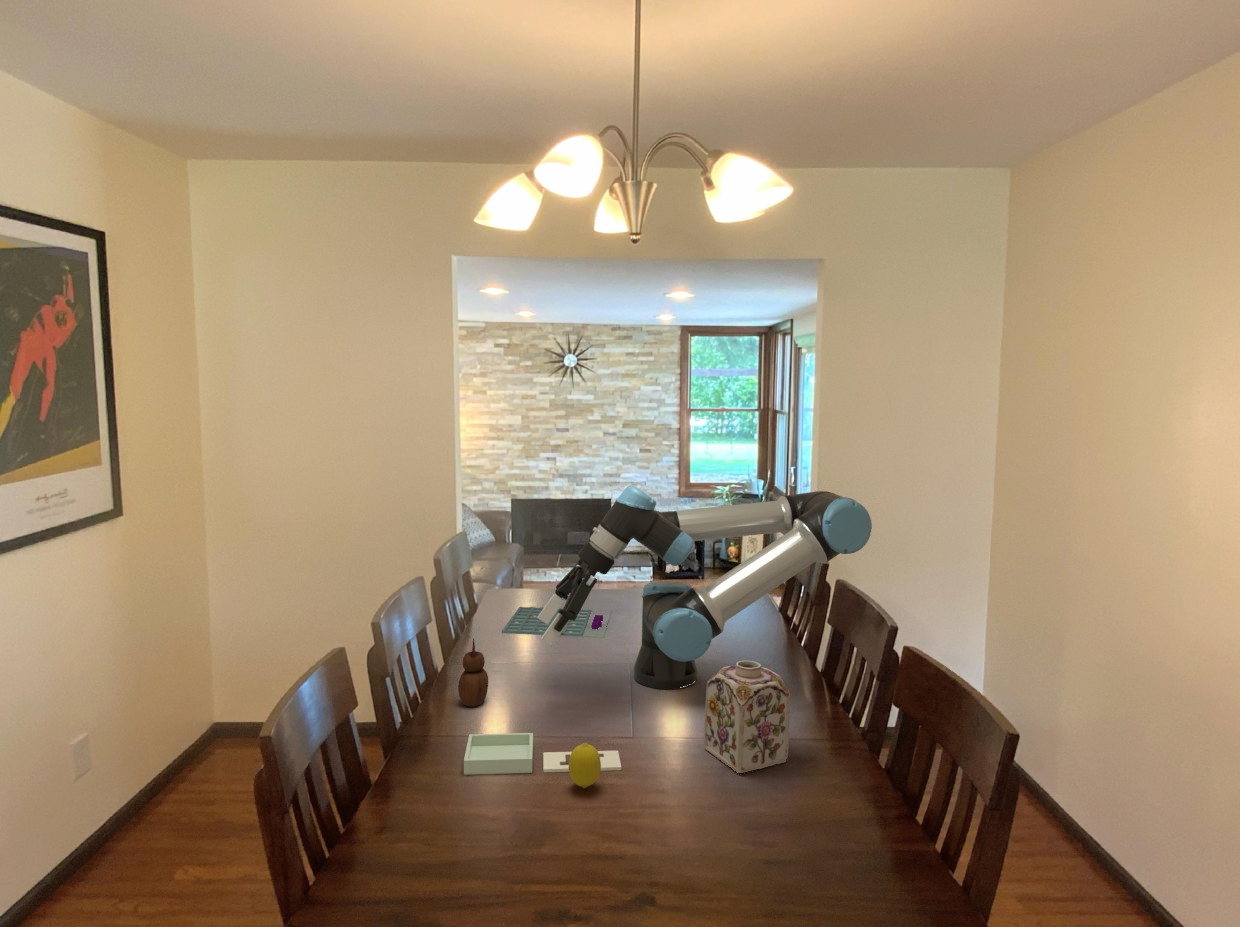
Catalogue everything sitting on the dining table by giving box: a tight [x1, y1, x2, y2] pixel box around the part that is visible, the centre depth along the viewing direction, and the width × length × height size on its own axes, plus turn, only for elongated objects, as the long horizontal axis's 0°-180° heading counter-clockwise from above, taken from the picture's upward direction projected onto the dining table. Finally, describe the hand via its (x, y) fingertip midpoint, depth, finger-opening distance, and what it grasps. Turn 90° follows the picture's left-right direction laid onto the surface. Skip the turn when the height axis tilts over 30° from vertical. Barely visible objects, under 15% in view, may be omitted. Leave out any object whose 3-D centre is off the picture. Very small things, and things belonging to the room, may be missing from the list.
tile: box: [542, 750, 622, 773], centre depth 142 cm, size 14×6×1 cm, turn 96°
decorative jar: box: [703, 660, 791, 774], centre depth 145 cm, size 12×12×18 cm
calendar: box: [501, 606, 609, 638], centre depth 228 cm, size 27×29×2 cm
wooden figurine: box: [457, 638, 489, 708], centre depth 167 cm, size 7×6×15 cm
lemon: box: [568, 742, 601, 789], centre depth 133 cm, size 6×6×8 cm
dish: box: [463, 732, 534, 776], centre depth 142 cm, size 12×10×3 cm
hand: (544, 630), depth 166 cm, fingers open, 13 cm apart
